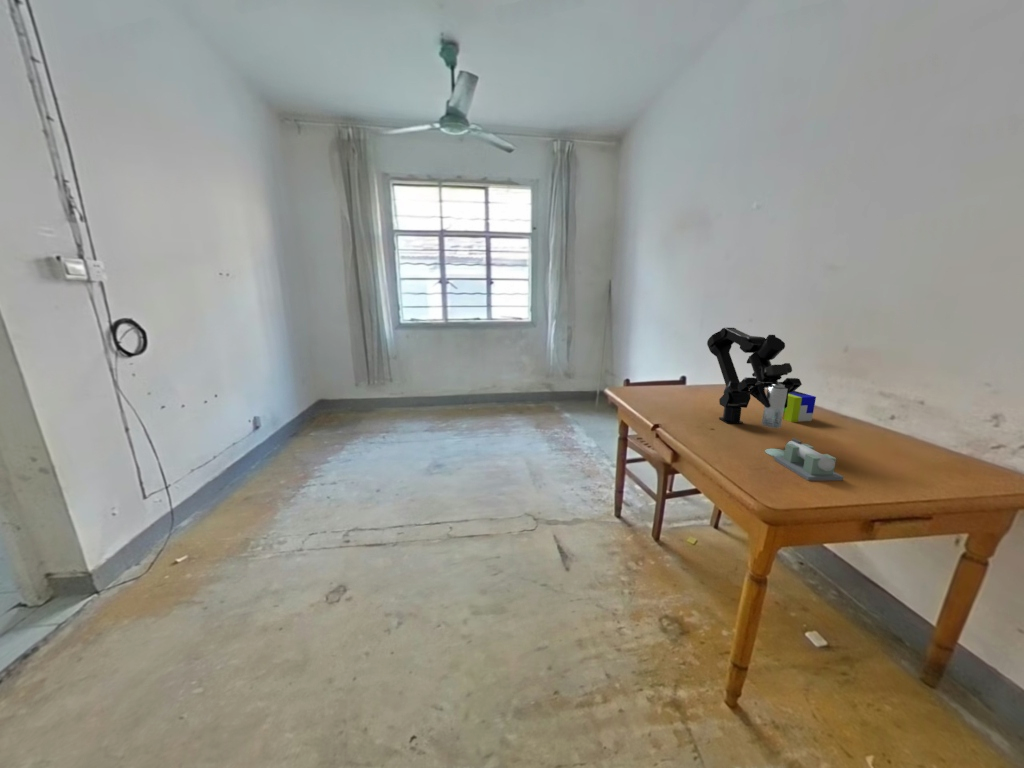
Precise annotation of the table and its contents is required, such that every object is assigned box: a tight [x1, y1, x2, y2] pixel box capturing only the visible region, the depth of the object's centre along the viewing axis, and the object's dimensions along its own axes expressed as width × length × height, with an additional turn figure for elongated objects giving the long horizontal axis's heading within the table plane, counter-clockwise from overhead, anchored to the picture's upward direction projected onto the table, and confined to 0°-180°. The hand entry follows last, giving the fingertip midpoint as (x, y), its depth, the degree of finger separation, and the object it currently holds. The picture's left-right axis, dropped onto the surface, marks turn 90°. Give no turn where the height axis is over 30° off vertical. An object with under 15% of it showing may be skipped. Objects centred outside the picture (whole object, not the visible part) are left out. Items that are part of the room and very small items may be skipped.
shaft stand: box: [773, 437, 845, 482], centre depth 118 cm, size 14×10×7 cm
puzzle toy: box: [782, 390, 817, 423], centre depth 167 cm, size 10×10×10 cm
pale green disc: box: [764, 448, 785, 458], centre depth 130 cm, size 8×8×1 cm
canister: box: [761, 383, 788, 429], centre depth 136 cm, size 6×6×14 cm
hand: (776, 407), depth 135 cm, fingers closed on canister, 5 cm apart
